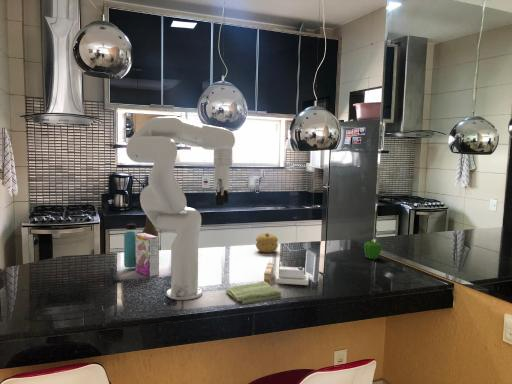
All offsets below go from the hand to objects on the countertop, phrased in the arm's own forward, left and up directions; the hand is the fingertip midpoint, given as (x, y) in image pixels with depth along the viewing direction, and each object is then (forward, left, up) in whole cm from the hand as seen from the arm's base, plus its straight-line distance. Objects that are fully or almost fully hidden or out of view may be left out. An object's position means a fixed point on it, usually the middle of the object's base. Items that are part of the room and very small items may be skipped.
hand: (222, 203), depth 167 cm
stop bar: (-3, -30, -30) cm, 42 cm away
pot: (+46, -15, -31) cm, 57 cm away
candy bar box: (-4, +31, -31) cm, 44 cm away
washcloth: (-22, -17, -31) cm, 42 cm away
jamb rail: (-3, -21, -30) cm, 37 cm away
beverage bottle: (+1, +40, -31) cm, 50 cm away
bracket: (-3, -30, -30) cm, 43 cm away
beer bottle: (+17, +38, -31) cm, 52 cm away
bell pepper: (+43, -69, -31) cm, 87 cm away
